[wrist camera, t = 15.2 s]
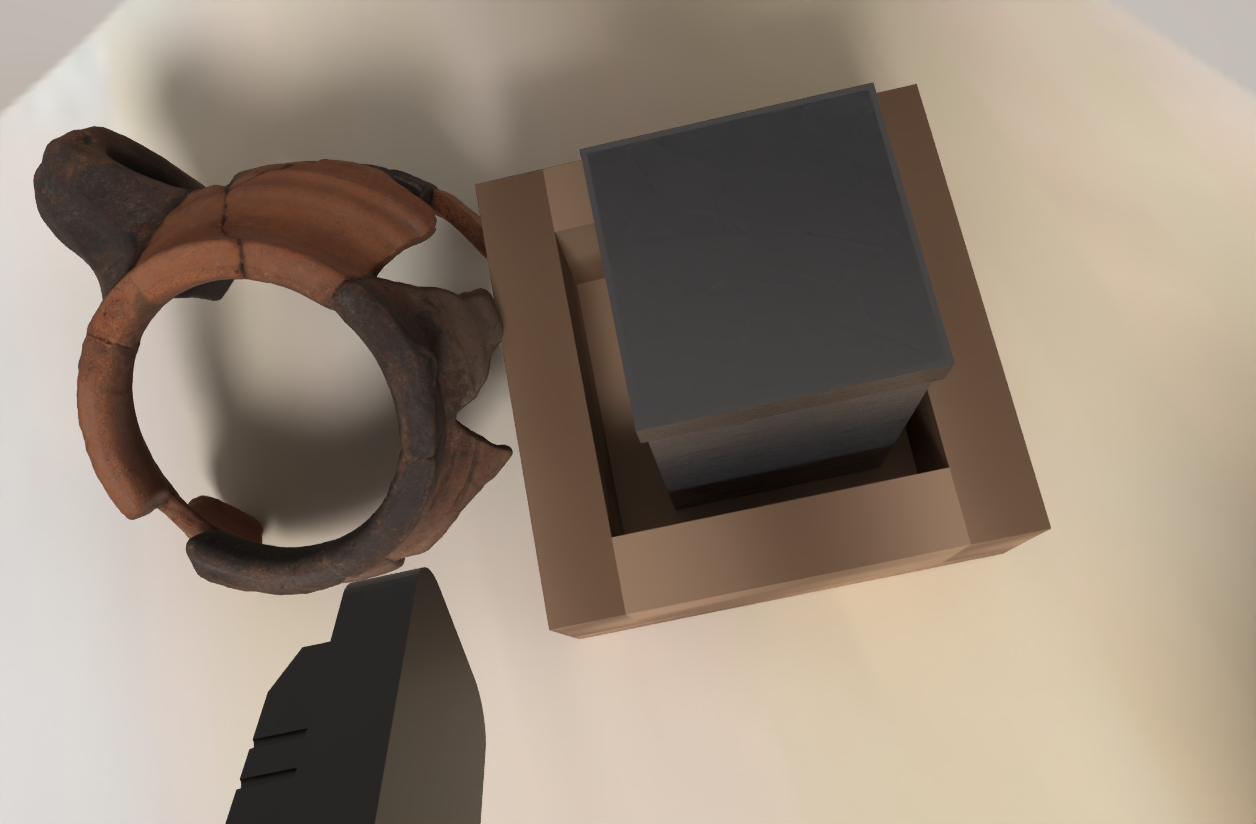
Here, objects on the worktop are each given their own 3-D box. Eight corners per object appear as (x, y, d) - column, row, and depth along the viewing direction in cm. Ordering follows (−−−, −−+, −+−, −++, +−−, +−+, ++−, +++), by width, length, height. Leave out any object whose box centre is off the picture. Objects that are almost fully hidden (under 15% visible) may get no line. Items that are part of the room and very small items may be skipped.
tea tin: (672, 515, 23) (635, 431, 16) (631, 317, 25) (579, 149, 17) (885, 471, 23) (954, 363, 15) (833, 273, 24) (872, 82, 17)
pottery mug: (631, 276, 26) (568, 348, 19) (457, 561, 29) (339, 727, 21) (220, 17, 26) (-20, -22, 18) (85, 331, 29) (-173, 415, 21)
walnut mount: (579, 639, 24) (548, 630, 20) (512, 254, 26) (474, 184, 23) (1003, 553, 23) (1050, 528, 20) (892, 169, 26) (916, 83, 22)
